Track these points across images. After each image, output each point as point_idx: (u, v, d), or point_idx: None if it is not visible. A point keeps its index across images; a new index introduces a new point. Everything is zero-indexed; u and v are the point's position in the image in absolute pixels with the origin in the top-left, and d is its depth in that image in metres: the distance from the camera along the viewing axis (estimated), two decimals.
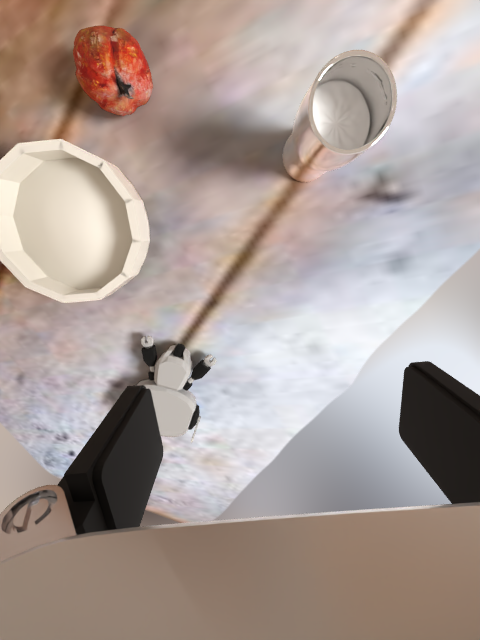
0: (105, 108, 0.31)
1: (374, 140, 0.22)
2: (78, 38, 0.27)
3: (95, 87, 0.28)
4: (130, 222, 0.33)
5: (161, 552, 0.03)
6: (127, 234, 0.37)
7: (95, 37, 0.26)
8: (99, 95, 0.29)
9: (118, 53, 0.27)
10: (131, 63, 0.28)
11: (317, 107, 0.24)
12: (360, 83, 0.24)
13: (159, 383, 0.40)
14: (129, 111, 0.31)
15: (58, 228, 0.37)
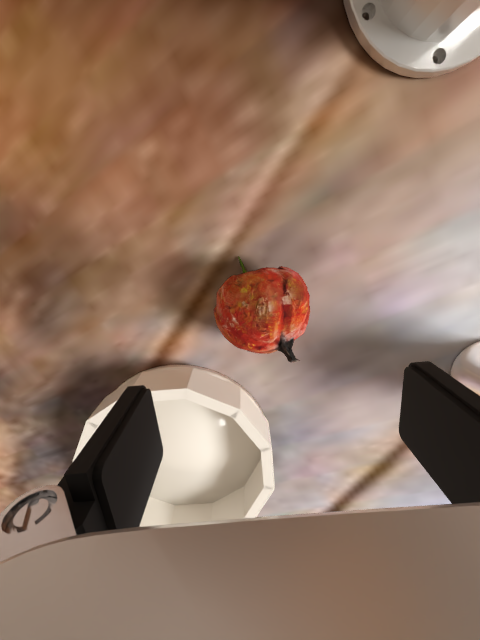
0: None
1: None
2: (235, 299, 0.19)
3: (248, 348, 0.20)
4: (263, 470, 0.26)
5: (161, 552, 0.03)
6: (244, 452, 0.29)
7: (264, 306, 0.18)
8: None
9: (290, 318, 0.19)
10: (301, 322, 0.20)
11: None
12: None
13: None
14: None
15: None
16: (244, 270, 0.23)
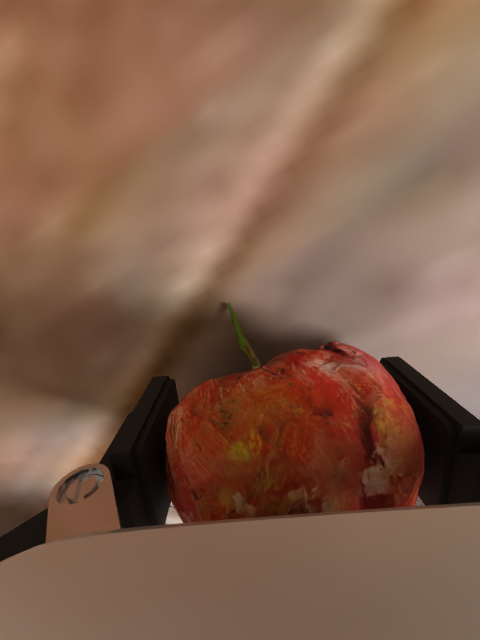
0: None
1: None
2: (213, 478, 0.06)
3: None
4: None
5: (161, 552, 0.03)
6: None
7: None
8: None
9: None
10: None
11: None
12: None
13: None
14: None
15: None
16: (241, 337, 0.10)
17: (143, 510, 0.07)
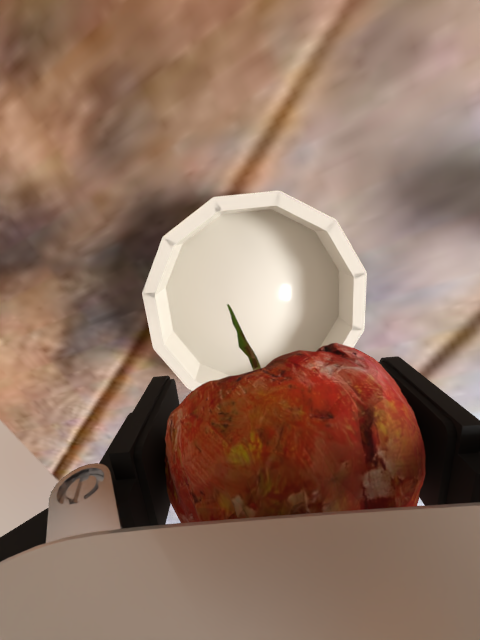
0: None
1: None
2: (213, 481, 0.06)
3: None
4: (354, 304, 0.23)
5: (161, 552, 0.03)
6: (320, 309, 0.27)
7: None
8: None
9: None
10: None
11: None
12: None
13: None
14: None
15: (225, 302, 0.27)
16: (241, 338, 0.10)
17: (144, 510, 0.07)
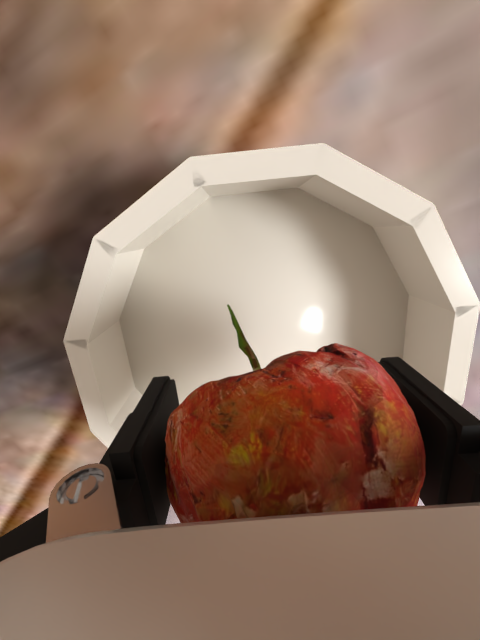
0: None
1: None
2: (213, 481, 0.06)
3: None
4: (451, 360, 0.13)
5: (161, 552, 0.03)
6: (373, 354, 0.16)
7: None
8: None
9: None
10: None
11: None
12: None
13: None
14: None
15: (219, 344, 0.16)
16: (241, 338, 0.10)
17: (144, 510, 0.07)
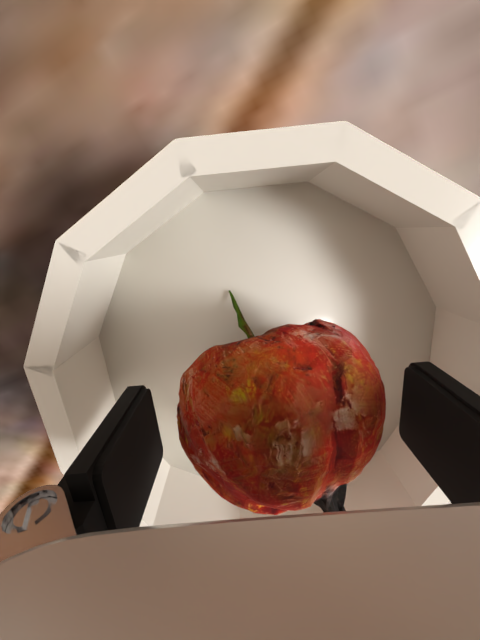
0: None
1: None
2: (218, 417, 0.08)
3: (248, 509, 0.09)
4: None
5: (161, 552, 0.03)
6: (393, 375, 0.14)
7: (292, 442, 0.07)
8: None
9: (353, 461, 0.08)
10: (372, 456, 0.09)
11: None
12: None
13: None
14: None
15: None
16: (240, 318, 0.12)
17: None
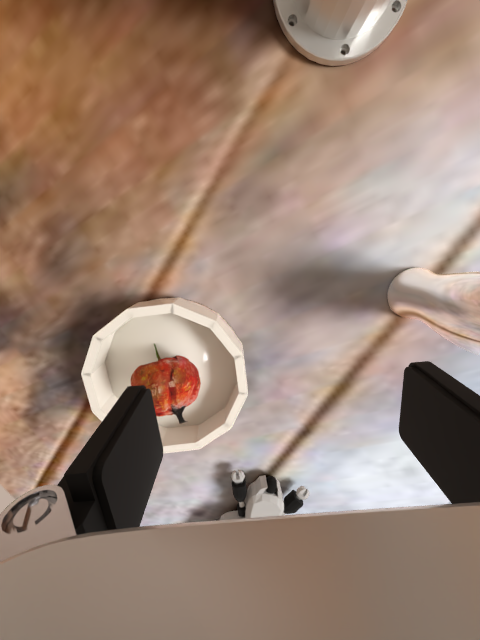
0: None
1: None
2: (138, 384, 0.29)
3: None
4: (238, 376, 0.31)
5: (161, 552, 0.03)
6: (224, 374, 0.35)
7: (155, 389, 0.28)
8: None
9: (175, 396, 0.29)
10: (186, 396, 0.29)
11: None
12: None
13: None
14: None
15: None
16: (157, 354, 0.33)
17: None
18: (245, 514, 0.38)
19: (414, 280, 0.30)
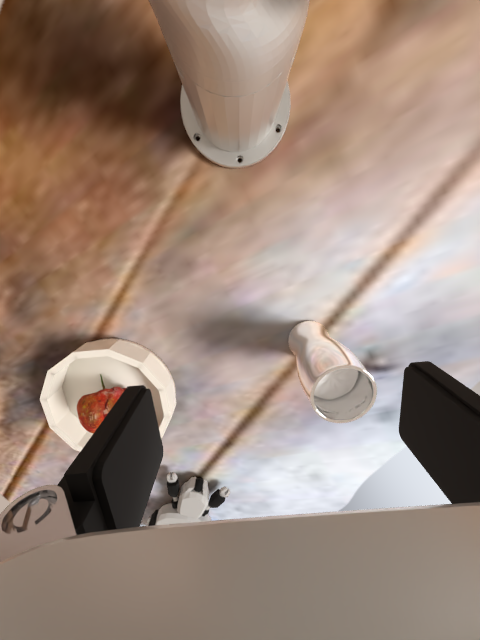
0: None
1: (360, 415, 0.28)
2: (80, 411, 0.37)
3: None
4: (162, 404, 0.40)
5: (161, 552, 0.03)
6: (157, 398, 0.44)
7: (92, 416, 0.37)
8: None
9: None
10: None
11: None
12: None
13: (181, 514, 0.47)
14: None
15: None
16: (102, 383, 0.42)
17: None
18: (177, 507, 0.48)
19: (301, 334, 0.39)
